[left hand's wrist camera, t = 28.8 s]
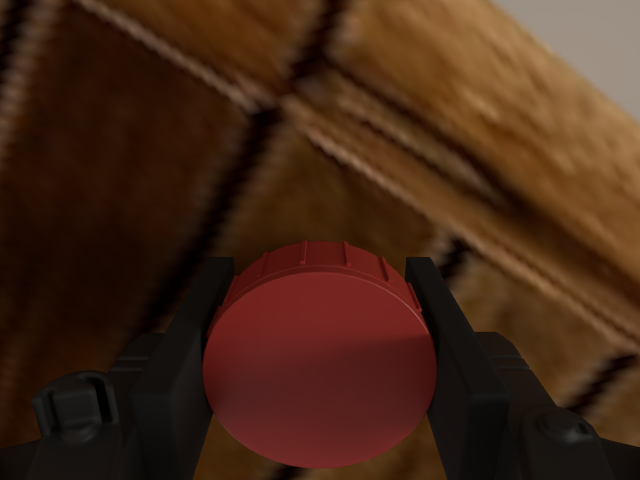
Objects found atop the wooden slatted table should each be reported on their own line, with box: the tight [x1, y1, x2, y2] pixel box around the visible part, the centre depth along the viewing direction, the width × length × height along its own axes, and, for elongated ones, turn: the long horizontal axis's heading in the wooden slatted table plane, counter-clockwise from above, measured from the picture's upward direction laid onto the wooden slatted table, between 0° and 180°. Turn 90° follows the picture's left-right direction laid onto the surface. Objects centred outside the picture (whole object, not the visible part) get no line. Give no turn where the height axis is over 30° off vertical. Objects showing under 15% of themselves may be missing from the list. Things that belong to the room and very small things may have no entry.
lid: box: [202, 240, 438, 468], centre depth 12 cm, size 6×6×2 cm
